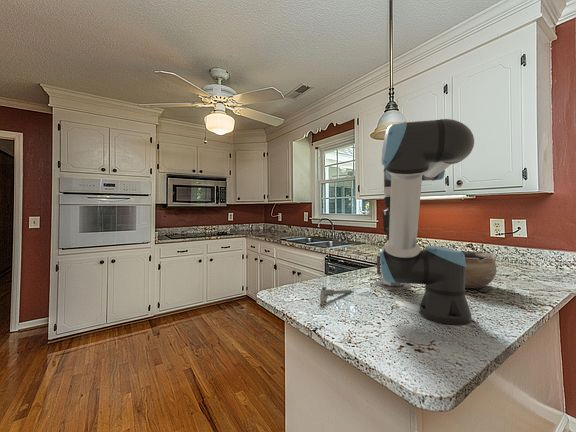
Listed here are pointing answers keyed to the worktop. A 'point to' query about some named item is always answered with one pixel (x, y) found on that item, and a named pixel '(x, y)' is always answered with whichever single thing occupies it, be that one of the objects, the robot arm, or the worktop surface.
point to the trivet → (393, 287)
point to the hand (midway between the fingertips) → (392, 246)
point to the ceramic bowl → (479, 269)
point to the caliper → (331, 293)
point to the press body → (385, 283)
